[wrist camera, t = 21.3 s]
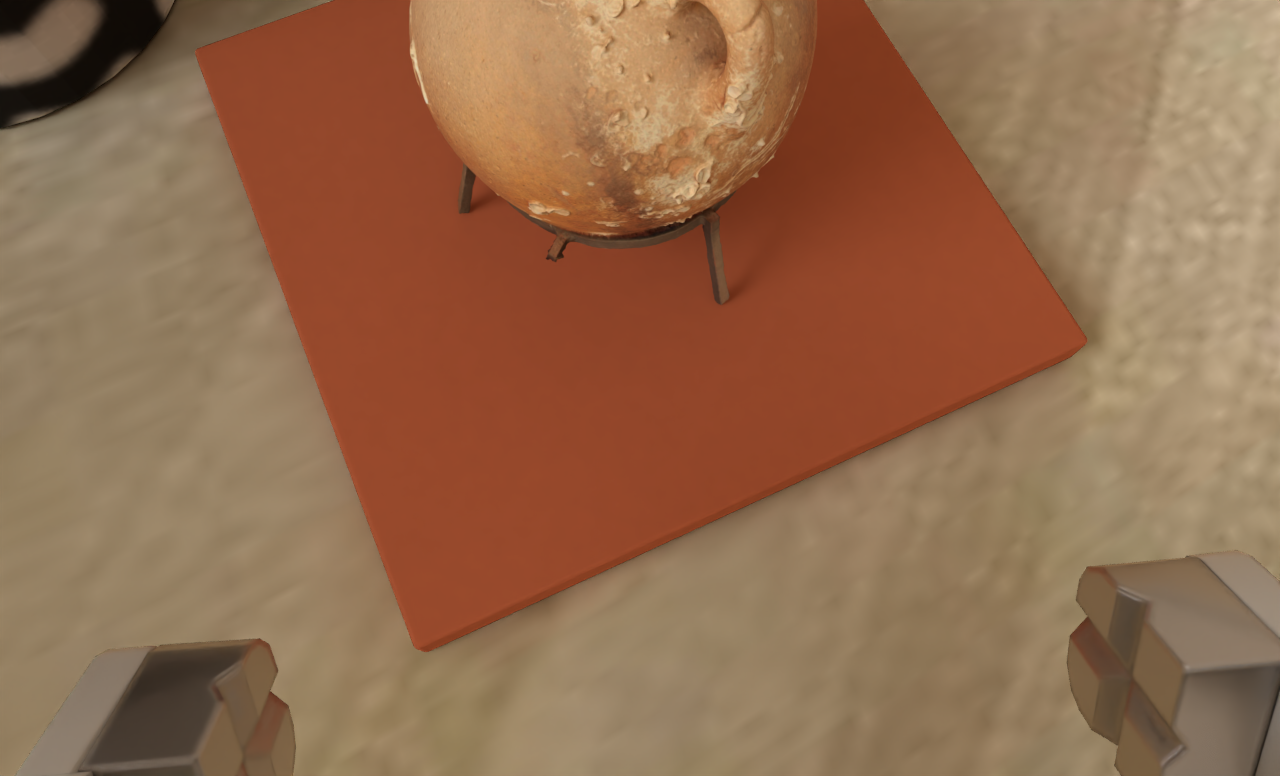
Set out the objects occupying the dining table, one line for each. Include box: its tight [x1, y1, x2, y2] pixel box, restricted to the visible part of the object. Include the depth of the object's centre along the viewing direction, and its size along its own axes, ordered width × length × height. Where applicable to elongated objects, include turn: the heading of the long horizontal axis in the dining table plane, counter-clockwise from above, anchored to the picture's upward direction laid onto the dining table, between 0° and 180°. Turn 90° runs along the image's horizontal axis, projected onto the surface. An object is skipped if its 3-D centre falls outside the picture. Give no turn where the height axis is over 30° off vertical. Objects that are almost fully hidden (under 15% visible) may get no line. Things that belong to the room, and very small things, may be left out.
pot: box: [409, 0, 817, 305], centre depth 15 cm, size 6×8×6 cm
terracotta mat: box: [195, 0, 1087, 652], centre depth 19 cm, size 13×13×1 cm
